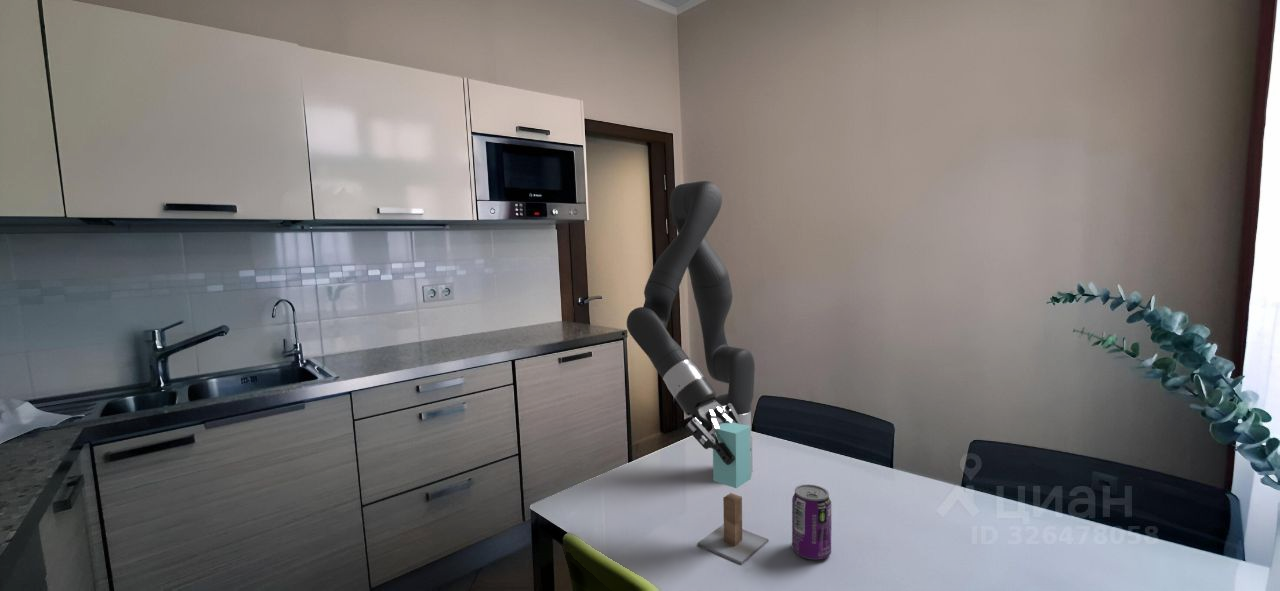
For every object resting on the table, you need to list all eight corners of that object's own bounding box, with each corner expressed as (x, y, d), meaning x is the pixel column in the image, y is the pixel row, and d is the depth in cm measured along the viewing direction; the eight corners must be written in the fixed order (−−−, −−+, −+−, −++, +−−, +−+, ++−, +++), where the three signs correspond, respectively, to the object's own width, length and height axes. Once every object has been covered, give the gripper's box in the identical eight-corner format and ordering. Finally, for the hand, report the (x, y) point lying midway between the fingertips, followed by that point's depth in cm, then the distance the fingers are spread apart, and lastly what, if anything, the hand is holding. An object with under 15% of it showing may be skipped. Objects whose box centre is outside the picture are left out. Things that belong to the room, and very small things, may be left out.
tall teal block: (728, 472, 106) (727, 421, 105) (750, 479, 103) (750, 426, 102) (713, 480, 103) (712, 427, 102) (736, 488, 99) (735, 433, 98)
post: (725, 524, 111) (725, 481, 110) (768, 541, 104) (768, 495, 103) (697, 545, 103) (696, 498, 103) (741, 564, 97) (741, 515, 96)
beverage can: (834, 564, 96) (834, 501, 95) (793, 561, 97) (793, 498, 96) (828, 543, 103) (828, 484, 102) (790, 540, 104) (790, 482, 103)
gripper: (677, 383, 101) (731, 459, 94) (719, 369, 111) (770, 437, 104) (656, 405, 105) (707, 480, 98) (699, 390, 115) (747, 456, 108)
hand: (739, 457), depth 101 cm, fingers closed on tall teal block, 5 cm apart
